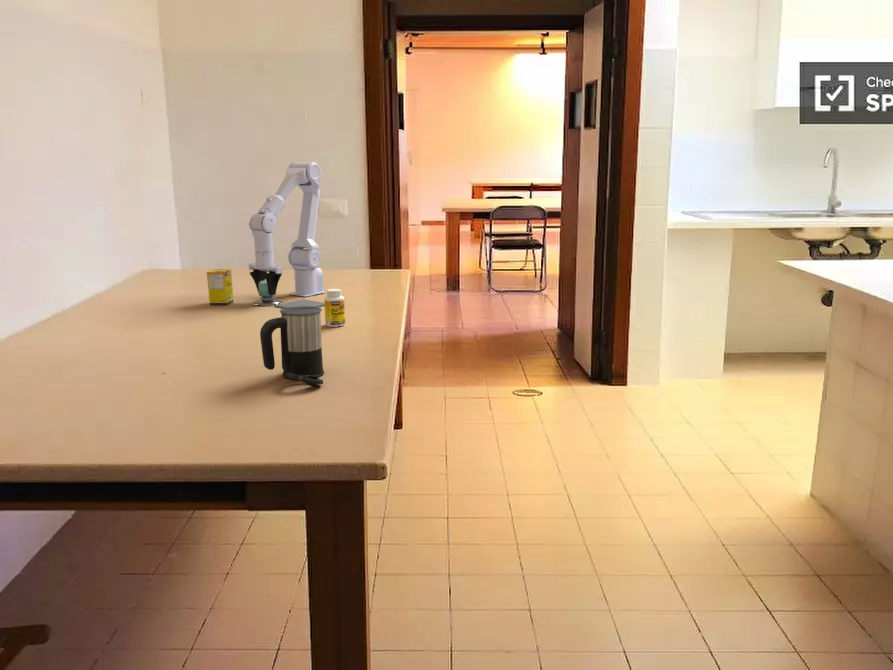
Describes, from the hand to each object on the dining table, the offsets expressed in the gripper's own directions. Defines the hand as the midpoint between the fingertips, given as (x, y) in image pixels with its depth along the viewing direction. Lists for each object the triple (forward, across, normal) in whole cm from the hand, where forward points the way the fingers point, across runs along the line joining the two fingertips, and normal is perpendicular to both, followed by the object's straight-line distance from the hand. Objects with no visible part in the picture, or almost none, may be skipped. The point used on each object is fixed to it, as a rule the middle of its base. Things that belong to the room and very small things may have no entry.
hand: (266, 293), depth 256 cm
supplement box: (+3, -12, -9) cm, 15 cm away
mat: (+3, +12, +4) cm, 13 cm away
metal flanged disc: (+3, 0, 0) cm, 3 cm away
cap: (0, 0, 0) cm, 0 cm away
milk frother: (+3, +75, -49) cm, 90 cm away
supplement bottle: (+3, +41, -9) cm, 42 cm away
